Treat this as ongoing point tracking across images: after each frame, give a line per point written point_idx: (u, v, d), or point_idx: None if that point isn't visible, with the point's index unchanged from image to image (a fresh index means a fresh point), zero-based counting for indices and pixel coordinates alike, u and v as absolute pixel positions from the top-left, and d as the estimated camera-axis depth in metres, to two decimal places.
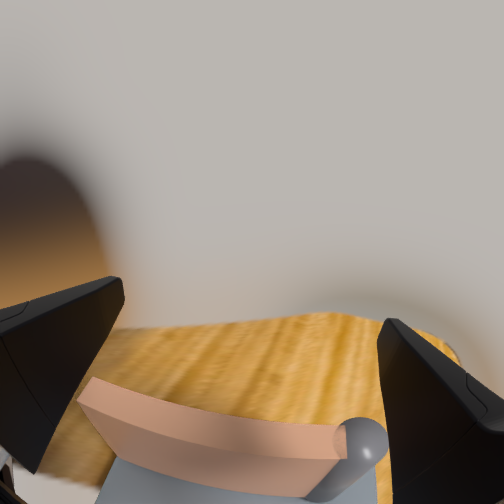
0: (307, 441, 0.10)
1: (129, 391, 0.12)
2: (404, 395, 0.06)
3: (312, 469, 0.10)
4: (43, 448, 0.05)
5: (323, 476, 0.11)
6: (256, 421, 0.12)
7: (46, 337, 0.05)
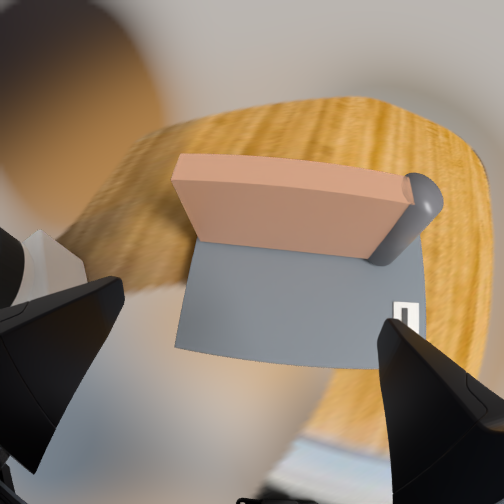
0: (382, 185, 0.14)
1: (221, 155, 0.15)
2: (404, 395, 0.06)
3: (385, 215, 0.15)
4: (43, 448, 0.05)
5: (391, 227, 0.16)
6: (340, 166, 0.15)
7: (46, 337, 0.05)
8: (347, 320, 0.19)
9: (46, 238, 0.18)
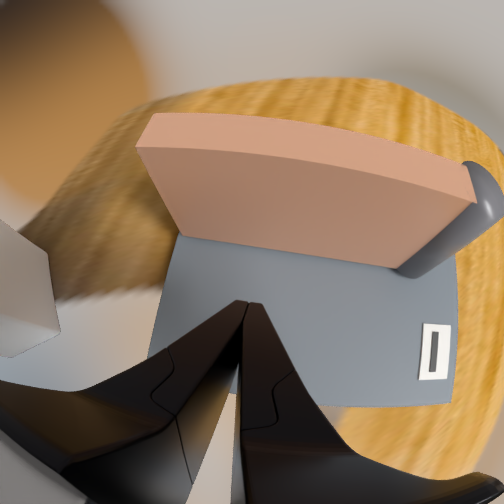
0: (439, 172, 0.09)
1: (211, 114, 0.10)
2: (237, 384, 0.06)
3: (437, 215, 0.10)
4: None
5: (438, 232, 0.11)
6: (382, 140, 0.09)
7: (207, 392, 0.05)
8: (367, 347, 0.14)
9: (0, 226, 0.12)
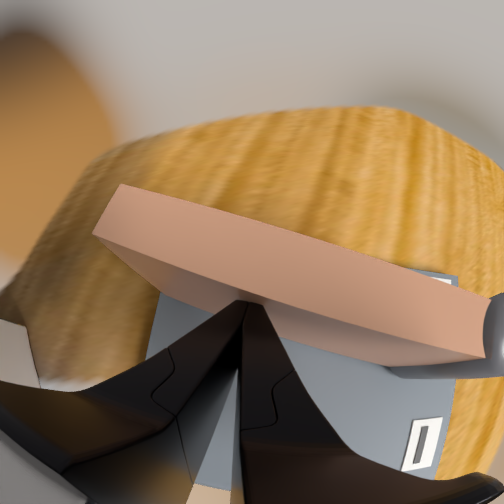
0: (459, 319, 0.07)
1: (181, 202, 0.08)
2: None
3: (441, 357, 0.07)
4: None
5: (439, 362, 0.09)
6: (399, 270, 0.07)
7: (208, 392, 0.05)
8: None
9: None
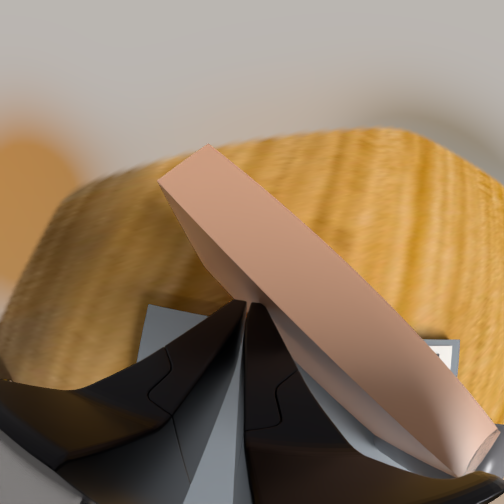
0: (462, 434, 0.05)
1: (263, 192, 0.08)
2: (239, 384, 0.06)
3: (425, 458, 0.06)
4: None
5: (420, 458, 0.07)
6: (438, 364, 0.06)
7: (205, 391, 0.05)
8: None
9: None
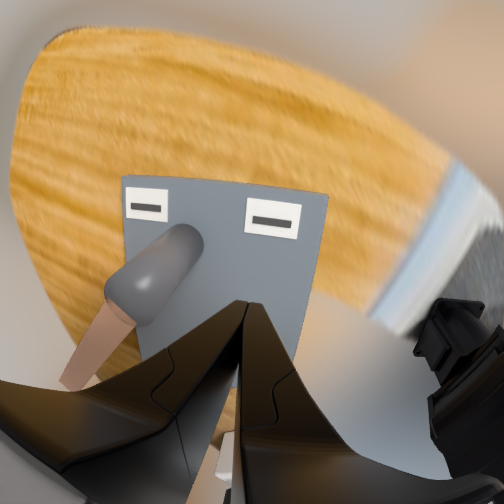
0: (109, 328, 0.13)
1: (64, 372, 0.17)
2: (237, 384, 0.06)
3: None
4: None
5: None
6: (85, 336, 0.14)
7: (207, 392, 0.05)
8: (262, 284, 0.21)
9: (219, 469, 0.25)
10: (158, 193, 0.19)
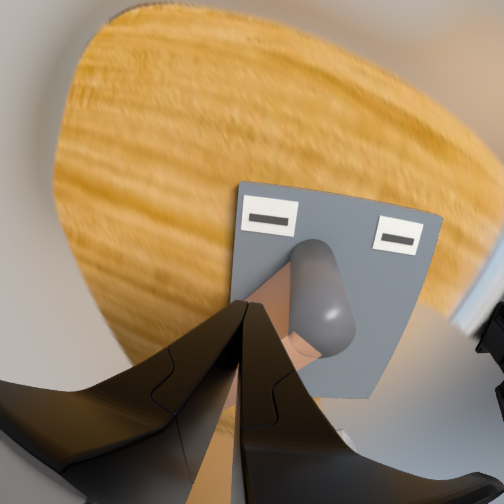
0: None
1: None
2: (237, 384, 0.06)
3: None
4: None
5: None
6: None
7: (207, 392, 0.05)
8: (379, 297, 0.20)
9: None
10: (286, 205, 0.18)
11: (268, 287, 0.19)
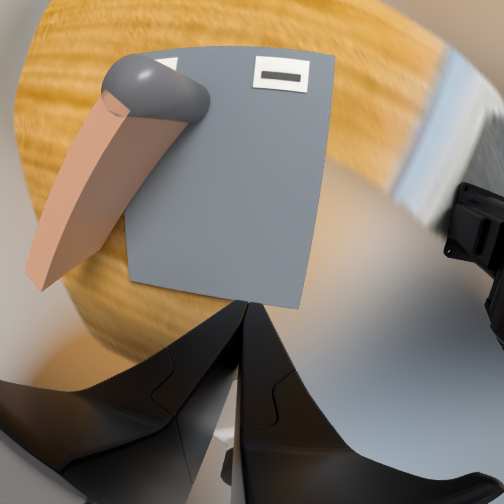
0: (95, 133, 0.10)
1: (31, 249, 0.14)
2: (237, 384, 0.06)
3: (131, 133, 0.12)
4: None
5: (154, 119, 0.13)
6: (64, 164, 0.11)
7: (207, 392, 0.05)
8: (273, 143, 0.18)
9: (217, 425, 0.22)
10: (167, 62, 0.16)
11: None
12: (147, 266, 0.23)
